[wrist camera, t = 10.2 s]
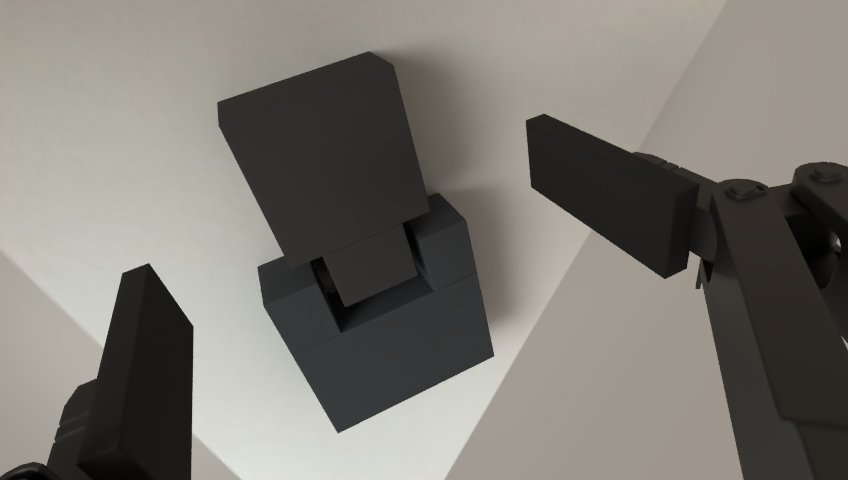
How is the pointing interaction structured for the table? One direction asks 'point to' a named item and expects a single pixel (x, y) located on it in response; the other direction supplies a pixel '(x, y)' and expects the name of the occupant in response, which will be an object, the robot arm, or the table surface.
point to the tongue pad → (333, 170)
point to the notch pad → (385, 323)
